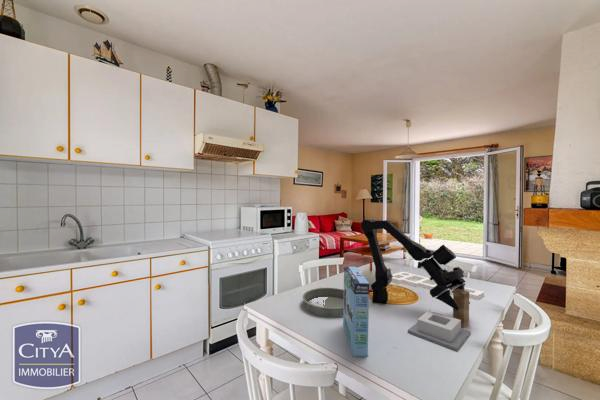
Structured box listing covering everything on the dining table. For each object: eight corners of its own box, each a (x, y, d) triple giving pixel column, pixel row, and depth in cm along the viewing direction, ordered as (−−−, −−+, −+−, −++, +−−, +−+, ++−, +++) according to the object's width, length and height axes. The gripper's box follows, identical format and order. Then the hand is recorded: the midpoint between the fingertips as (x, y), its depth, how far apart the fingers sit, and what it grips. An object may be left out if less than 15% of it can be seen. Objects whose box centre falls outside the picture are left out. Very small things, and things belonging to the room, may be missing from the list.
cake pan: (307, 294, 133) (307, 285, 133) (357, 298, 128) (357, 289, 128) (297, 315, 109) (297, 304, 109) (357, 321, 104) (357, 310, 104)
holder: (484, 297, 132) (484, 291, 132) (469, 305, 121) (469, 300, 121) (402, 275, 168) (402, 271, 168) (385, 280, 157) (385, 276, 157)
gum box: (342, 326, 100) (343, 266, 100) (356, 326, 100) (356, 266, 100) (352, 357, 80) (353, 282, 80) (369, 357, 80) (370, 283, 80)
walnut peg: (453, 323, 102) (453, 290, 102) (457, 320, 105) (458, 288, 105) (464, 327, 99) (464, 293, 99) (468, 324, 101) (469, 291, 101)
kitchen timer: (383, 285, 147) (383, 259, 147) (385, 294, 133) (385, 265, 133) (357, 283, 150) (358, 257, 150) (357, 292, 137) (357, 263, 137)
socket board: (407, 332, 95) (407, 319, 95) (424, 318, 106) (425, 306, 106) (457, 351, 84) (457, 336, 84) (470, 333, 95) (470, 320, 95)
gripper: (437, 264, 100) (469, 302, 91) (460, 258, 111) (490, 291, 102) (418, 279, 107) (445, 316, 98) (441, 272, 117) (468, 305, 108)
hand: (463, 306), depth 101 cm, fingers open, 9 cm apart
